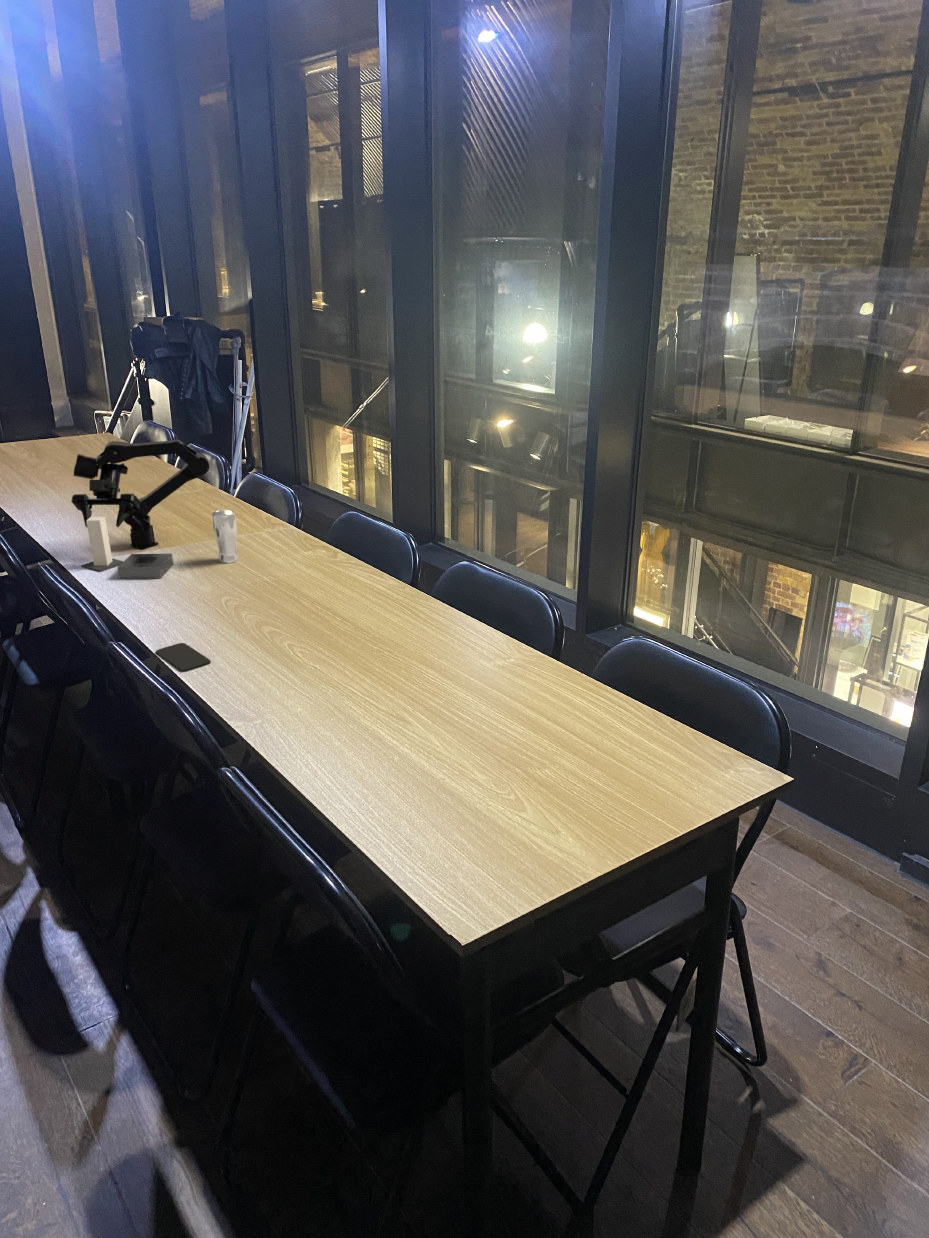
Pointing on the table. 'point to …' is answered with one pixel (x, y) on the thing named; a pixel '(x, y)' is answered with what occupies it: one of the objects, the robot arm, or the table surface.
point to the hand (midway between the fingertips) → (101, 526)
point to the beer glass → (225, 535)
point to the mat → (102, 568)
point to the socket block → (145, 566)
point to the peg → (99, 541)
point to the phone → (183, 657)
